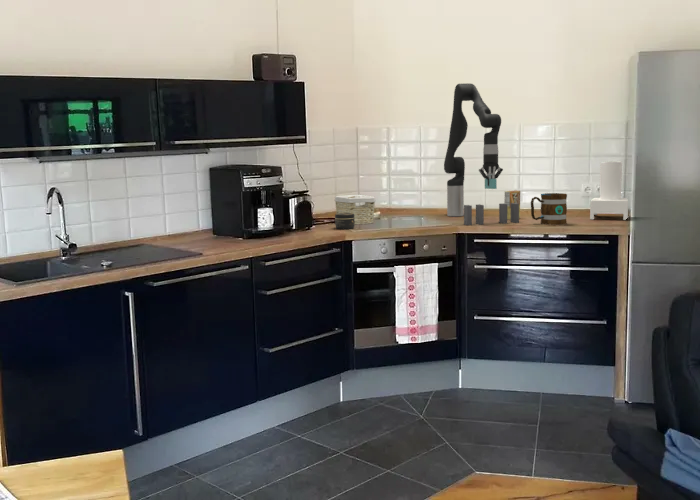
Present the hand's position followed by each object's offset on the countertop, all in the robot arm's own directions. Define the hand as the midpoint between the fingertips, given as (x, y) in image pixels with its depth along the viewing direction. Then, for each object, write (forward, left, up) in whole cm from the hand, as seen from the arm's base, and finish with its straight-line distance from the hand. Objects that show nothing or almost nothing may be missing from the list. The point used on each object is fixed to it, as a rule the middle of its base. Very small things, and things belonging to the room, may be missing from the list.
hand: (490, 187), depth 413 cm
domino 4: (0, +13, -19) cm, 23 cm away
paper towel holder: (0, +68, -19) cm, 71 cm away
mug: (+12, +26, -19) cm, 35 cm away
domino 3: (0, +7, -19) cm, 20 cm away
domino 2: (0, -6, -19) cm, 20 cm away
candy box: (-17, +19, -19) cm, 32 cm away
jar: (-9, -76, -19) cm, 78 cm away
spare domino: (+5, 0, +2) cm, 5 cm away
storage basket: (-35, -65, -19) cm, 76 cm away
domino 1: (0, -13, -19) cm, 23 cm away
